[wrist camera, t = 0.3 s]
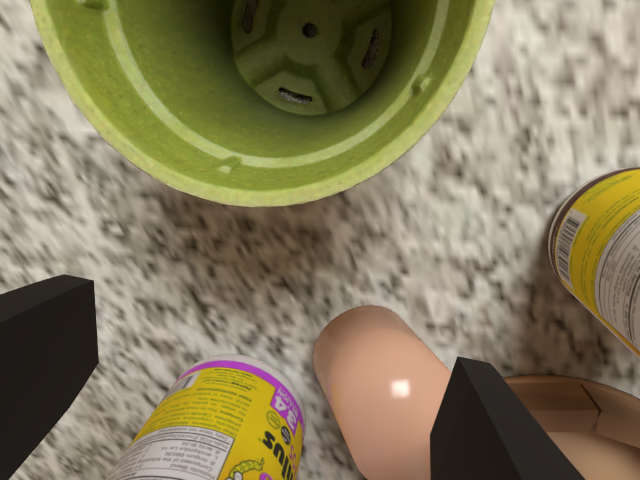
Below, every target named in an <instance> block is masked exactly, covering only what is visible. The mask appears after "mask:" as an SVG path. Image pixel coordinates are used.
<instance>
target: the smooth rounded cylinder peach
mask: <svg viewBox="0 0 640 480" xmlns="http://www.w3.org/2000/svg"><path fill="white" fill-rule="evenodd" d="M313 366H314V371H315V373H316V376H317V378H318V380H319V383H320V385H321V387H322V389H323V392H324V394H325V396H326V398H327V401H328V403H329V405H330V407H331V410H332V412H333V414H334V416H335V419H336V421H337V423H338V426H339V428H340V430H341V432H342V435H343V437H344V439H345V441H346V444H347V446H348V448H349V450H350V453H351V455H352V457H353V459H354V462H355V464H356V466H357V468H358V469H359V471H360V472H361V473H362V475H363V476H364V477H366V478H367V479H368V480H429V479H431V475H430V433H431V430H432V427H433V424H434V422H435V419H436V416H437V413H438V410H439V407H440V405H441V402H442V399H443V396H444V393H445V391H446V388H447V385H448V382H449V379H450V376H451V374H452V372H451V371H450V370H449V369H448V368H447V367H446V366H445V365H444V364H443V363H442V362H441V361H440V359H439V358H438V357H437V356H436V355H435V354H434V353H433V352H432V351H431V350H430V349H429V348H428V346H427V345H426V344H425V343H424V342H423V341H422V340H421V339H420V338H419V337H418V336H417V335H416V333H415V332H414V331H413V330H412V329H411V328H410V327H409V326H408V325H407V324H406V323H405V322H404V320H403V319H402V318H401V317H400V316H399V315H398V314H396V313H395V312H394V311H392V310H390V309H388V308H385V307H381V306H375V305H367V306H360V307H356V308H353V309H350V310H348V311H346V312H344V313H342V314H340V315H339V316H337V317H336V318H335V319H333V320H332V321H331V322H330V323H329V324H328V325H327V326H326V327H325V329H324V330H323V331H322V333H321V334H320V336H319V338H318V340H317V342H316V345H315V348H314V353H313Z"/></svg>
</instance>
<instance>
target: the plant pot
mask: <svg viewBox="0 0 640 480" xmlns="http://www.w3.org/2000/svg"><path fill="white" fill-rule="evenodd" d="M29 1H30V4H31V8H32V11H33V16H34V20H35V23H36V26H37V29H38V32H39V34H40V36H41V40H42V43H43V45H44V48H45V50H46V52H47V55H48V57H49V59H50V61H51V63H52V65H53V66H54V68H55V70H56V72H57V74H58V75H59V77H60V79H61V81H62V83H63V85H64V87H65V89H66V91H67V92H68V94H69V96H70V98H71V100H72V101H73V103H74V104H75V105H76V106H77V107H78V109H79V110H80V111H81V113H82V114H83V115H84V116H85V118H86V119H87V120H88V121H89V123H90V124H91V125H92V126H93V127H94V129H95V130H96V131H97V132H98V133H99V134H100V135H101V136H102V137H103V138H104V139H105V140H106V141H107V142H108V143H109V145H111V146H112V147H113V148H114V149H115V150H117V151H118V152H119V153H120V154H121V155H123V156H124V157H125V158H126V159H127V160H129V161H130V162H131V163H132V164H134V165H135V166H137V167H138V168H140V169H141V170H143V171H144V172H145V173H147V174H148V175H150V176H151V177H153V178H155V179H156V180H158V181H160V182H162V183H164V184H166V185H168V186H170V187H172V188H174V189H176V190H179V191H182V192H185V193H188V194H191V195H193V196H196V197H199V198H202V199H206V200H210V201H214V202H218V203H221V204H226V205H232V206H240V207H260V208H266V207H282V206H291V205H297V204H303V203H306V202H311V201H316V200H319V199H323V198H326V197H329V196H332V195H335V194H337V193H339V192H342V191H344V190H347V189H349V188H351V187H353V186H355V185H357V184H359V183H361V182H363V181H365V180H367V179H369V178H371V177H372V176H374V175H376V174H377V173H379V172H381V171H382V170H384V169H385V168H387V167H388V166H390V165H391V164H393V163H394V162H395V161H397V160H398V159H399V158H401V157H402V156H403V155H404V154H406V153H407V152H408V151H409V150H410V149H411V148H413V147H414V146H415V145H416V144H417V143H418V142H419V141H420V140H421V139H422V138H423V136H424V135H425V134H426V133H427V132H428V131H429V130H430V129H431V127H432V126H433V125H434V124H435V123H436V122H437V121H438V119H439V118H440V117H441V115H442V114H443V113H444V111H445V110H446V109H447V107H448V106H449V104H450V103H451V101H452V100H453V98H454V97H455V95H456V93H457V92H458V90H459V88H460V87H461V85H462V84H463V82H464V80H465V78H466V76H467V74H468V73H469V71H470V69H471V67H472V65H473V63H474V61H475V59H476V57H477V54H478V52H479V50H480V47H481V45H482V42H483V39H484V37H485V34H486V31H487V28H488V25H489V21H490V17H491V14H492V10H493V7H494V4H495V0H259V1H258V4H257V7H256V9H255V13H254V15H253V22H252V31H251V32H250V33H246V32H245V30H244V27H243V16H244V13H245V9H246V4H247V2H248V0H29ZM307 23H310V24H314V25H315V26H316V28H317V34H316V36H314V37H313V38H308V37H306V36H305V35H304V34H303V27H304V26H305V25H306V24H307ZM374 30H377V33H378V34H379V44H378V51H377V55H376V57H375V60H374V62H373V64H372V65H371V66H370V67H369V68H368V69H365V68H362V62H363V60H364V58H365V56H366V53H367V51H368V49H369V45H370V41H371V37H372V36H373V34H372V33H373V31H374ZM279 88H284V89H287V90H289V91H292V92H294V93H296V94H301V95H306V96H310V97H312V101H310V102H309V103H308V104H302V103H297V102H293V101H288V100H286V99H285V98H282V97H281V95H280V94H279Z"/></svg>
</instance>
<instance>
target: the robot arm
mask: <svg viewBox="0 0 640 480" xmlns="http://www.w3.org/2000/svg"><path fill="white" fill-rule="evenodd" d="M98 363H99V359H98V343H97V327H96V310H95V294H94V280H89V279H84V278H79V277H75V276H70V275H65V274H64V275H60V276H56V277H53V278H49V279H46V280H42V281H39V282H36V283H33V284H30V285H27V286H24V287H21V288H18V289H15V290H12V291H9V292H7V293H4V294H1V295H0V480H9V478H10V477H11V476H12V475H13V474H14V473H15V471H16V470H17V469H18V468H19V467H20V466H21V464H22V463H23V462H24V461H25V460H26V458H27V457H28V456H29V455H30V454H31V453H32V451H33V450H34V449H35V448H36V447H37V446H38V444H39V443H40V442H41V441H42V440H43V439H44V437H45V436H46V435H47V434H48V433H49V431H50V430H51V429H52V428H53V427H54V425H55V424H56V423H57V422H58V421H59V419H60V418H61V417H62V416H63V415H64V413H65V412H66V411H67V410H68V408H69V407H70V406H71V404H72V403H73V401H74V400H75V398H76V397H77V395H78V394H79V392H80V391H81V390H82V388H83V387H84V385H85V383H86V382H87V380H88V379H89V377H90V375H91V374H92V372H93V371H94V369H95V367H96V366H97V364H98ZM430 475H431V480H586V479H585V478H584V477H583V476H582V475H581V474H580V472H579V471H578V470H577V469H576V468H575V467H574V466H573V464H572V463H571V462H570V461H569V460H568V458H567V457H566V456H565V455H564V454H563V452H562V451H561V450H560V449H559V448H558V446H557V445H556V444H555V443H554V442H553V440H552V439H551V438H550V437H549V436H548V434H547V433H546V432H545V431H544V429H543V428H542V427H541V426H540V424H539V423H538V422H537V421H536V419H535V418H534V417H533V416H532V414H531V413H530V412H529V411H528V409H527V408H526V407H525V406H524V404H523V403H522V402H521V401H520V399H519V398H518V397H517V396H516V394H515V393H514V392H513V391H512V389H511V388H510V387H509V385H508V384H507V383H506V382H505V380H504V379H503V378H502V377H501V376H500V374H499V373H498V372H497V371H496V369H495V368H494V367H493V366H492V365H491V364H490V363H487V362H482V361H477V360H472V359H468V358H463V357H457V360H456V362H455V365H454V368H453V371H452V374H451V376H450V379H449V382H448V385H447V388H446V391H445V393H444V396H443V399H442V402H441V405H440V407H439V410H438V413H437V416H436V419H435V422H434V424H433V427H432V430H431V433H430Z"/></svg>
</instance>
